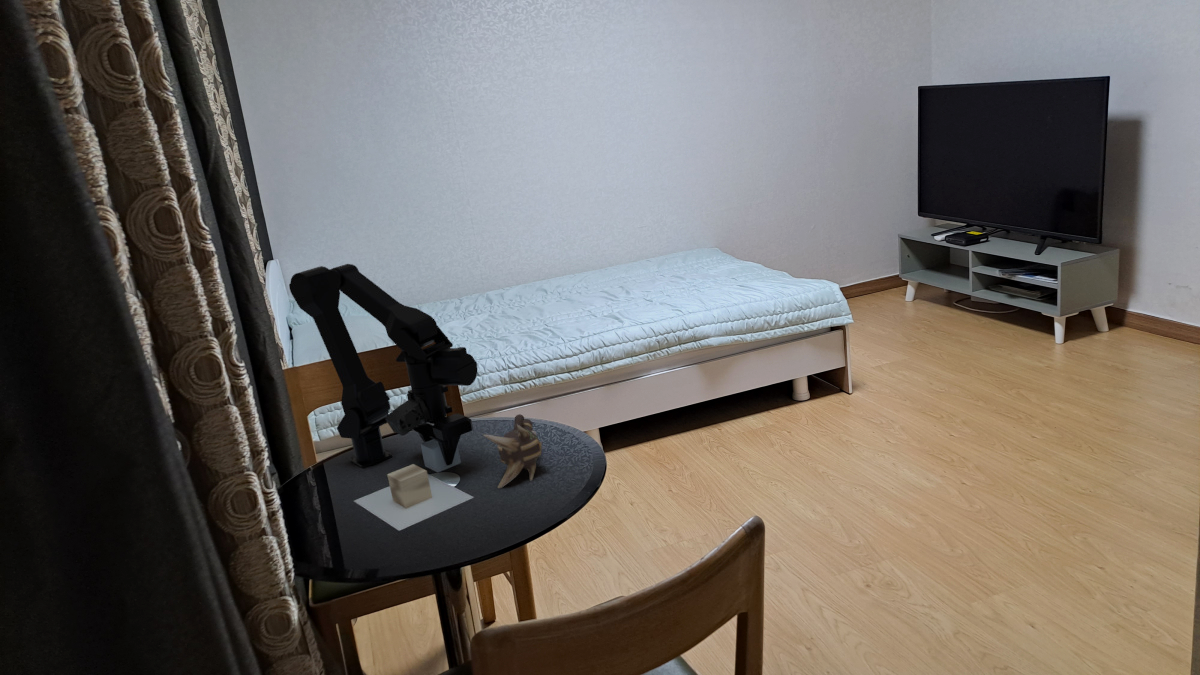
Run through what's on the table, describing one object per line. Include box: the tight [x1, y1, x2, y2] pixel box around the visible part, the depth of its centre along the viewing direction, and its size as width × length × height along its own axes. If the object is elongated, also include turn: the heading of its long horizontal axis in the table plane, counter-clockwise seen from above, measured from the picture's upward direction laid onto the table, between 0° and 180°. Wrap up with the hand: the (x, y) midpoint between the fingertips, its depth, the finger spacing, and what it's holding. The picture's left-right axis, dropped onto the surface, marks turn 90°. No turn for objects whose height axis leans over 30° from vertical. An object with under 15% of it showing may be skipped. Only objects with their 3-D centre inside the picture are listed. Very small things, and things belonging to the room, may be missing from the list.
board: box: [353, 473, 474, 532], centre depth 145 cm, size 18×14×1 cm
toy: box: [483, 413, 543, 489], centre depth 150 cm, size 11×8×15 cm
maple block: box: [386, 463, 432, 508], centre depth 144 cm, size 5×5×5 cm
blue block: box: [420, 439, 462, 473], centre depth 157 cm, size 5×5×5 cm
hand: (442, 461), depth 158 cm, fingers closed on blue block, 5 cm apart
